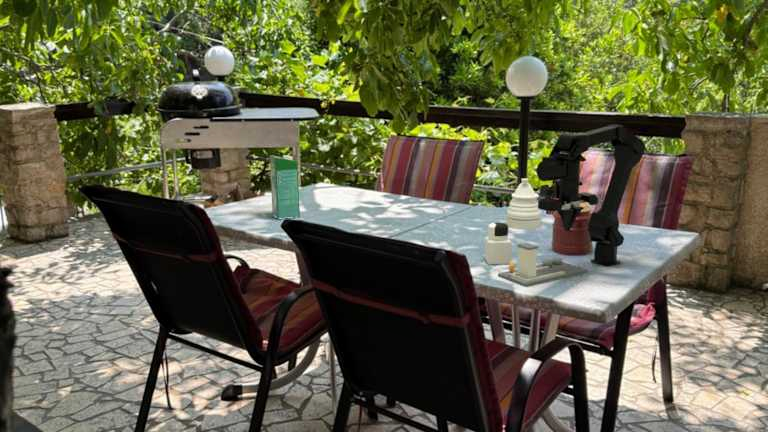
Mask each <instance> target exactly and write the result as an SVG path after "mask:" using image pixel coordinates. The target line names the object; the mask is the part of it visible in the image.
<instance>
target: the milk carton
mask: <svg viewBox="0 0 768 432" xmlns="http://www.w3.org/2000/svg"><path fill="white" fill-rule="evenodd" d="M269 165H270V166H269V167H270V170H269V171H270V187H271V188H270V189H271V205H272V206H271V207H272V208H271V209H272V210H271V211H272V216H273V215H275V216H276V217H277V218H284V220H286V219H285V217H286V218H287V217H297V218H296V219H300V218H301V213H300V211H301V210H300V207H301V206H300V189H299V186H300V185H299V167H298V165H299V163H298V161H297V160H295V159H294V157H293V156H291V155H286V154H283V155H282V156H279V155H274V154H273V155H272V154H269Z"/></svg>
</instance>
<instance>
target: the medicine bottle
mask: <svg viewBox="0 0 768 432" xmlns="http://www.w3.org/2000/svg"><path fill="white" fill-rule="evenodd" d="M487 229H488V230H487V232H488V234H487V235H488V236H485V237H484V260H485V261H486V262H487V264H488V265H510V262H512V243H513V242H512V241H511V240H510V238H509V227H508V225H507V224H506V223H504V222H492V223H490V224H489V225H488V227H487Z"/></svg>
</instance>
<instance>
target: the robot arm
mask: <svg viewBox="0 0 768 432" xmlns="http://www.w3.org/2000/svg"><path fill="white" fill-rule="evenodd" d="M607 142H608V143H609V144H610V145H611V146H612V148H613V149H614V150H613V158H614V162H615V164H614V167H613V171H612V173H611V175H610V176H611V177H610V180H609V183H608V186H607V189H606V192H605V194H604V198H603V201H602V205H601V207H600V209H598V211H596V212H594V211H592V214H591V218H590V221H589V223H588V225H589V226H588V231H589V235H590V239H591V241H592V242H594V243H595V247H594V253H593V254H594V257H593V259H590V262H591V263H595V264H598V265H601V266H605V267H609V266H614V265H617V264H621V260H618V259H617V258H618V247H620V246H622V245H623V243H624V240H625V237H624V236H623V235H622V233H621V232H620V231H619V227H620V220H619V215H618V212H619V209H620V206H621V203H622V200H623V197H624V195H625V192H626V187H627V185H628V182H629V180H630V176H631V172H632V170H633V168H634V167H636V166H637V164H639V163H640V162H641V161H642V158H643V156H644V153H645V150H646V145H645V142H644V141H643V139H641V138H639V136H637V135H636V134H635V133H633V132H631V131H629V130H628V129H627V127H625V126H623V124H608V125H607V126H603V127H600V128H596V129H593V130H589V131H585V132H577V133H576V132H564V133H561V134H559V136H558V139H557V140H556V142H555V143H554V146H553V147H552V149H551V151H550V152H549V154H548V156H542V157H541V158H542V159H541V161H539V162H538V164H537V167H536V169H535V170H536V171H535V172H536V176H537V178H538V179H539V180H540V181H542V182H551V181H555V182H554V185H552V186H549V184H542V185H540V187H539V193H540V195H539V196H541V197H544V198H540V199H539V200H538V208H539V209H540V210H543V211H547V212H553V213H554V212H556V211H557V212H558V213H559V215H560V217H561V220H562V223H563V226H564V229H565V231H569V230H570V228H571V227H572V225H573V223H574V221H575V220H576V218H577V216H578V215H579V213H580V212H581V210H583V209H584V207H580V203H587V204H588V205H590V206H595V205H598V203H599V202H598V201H599V198H598V196H597V194H594V193H589V192H580V187H581V186H583V182H584V181H580V176H581V175H580V174H581V162H583V163H584V162H586V161H587V159H586V157H584V156H583V155H582V154H584V153H586V152H587V151H588V150H589V149H590V148H591V147H594V146H597V145H598V146H599V145H601V144H604V143H607Z"/></svg>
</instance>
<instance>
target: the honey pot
mask: <svg viewBox="0 0 768 432" xmlns="http://www.w3.org/2000/svg"><path fill="white" fill-rule="evenodd" d="M520 180H521V183H519V185H518V186H517V187H516V189H515V191H514V192H513V193H512V194H511V201H510V202H509V206H508V208H507V210H506V220H505V221H506V223H505V224H507V225H508V228H509V229H514V230H525V231H526V230H528V231H529V230H537V229H540V228H541V227H542V221H543V220H542V219H543V218H542V216H543V215H542V211H541V210H542V209H539V208H538V201H539V200H538V198H539V197H540V195H539V193H537V192H535V190H534V189H533V186H532V185H531V183H529V180H530V179H529V178H521V179H520ZM536 228H537V229H536Z"/></svg>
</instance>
